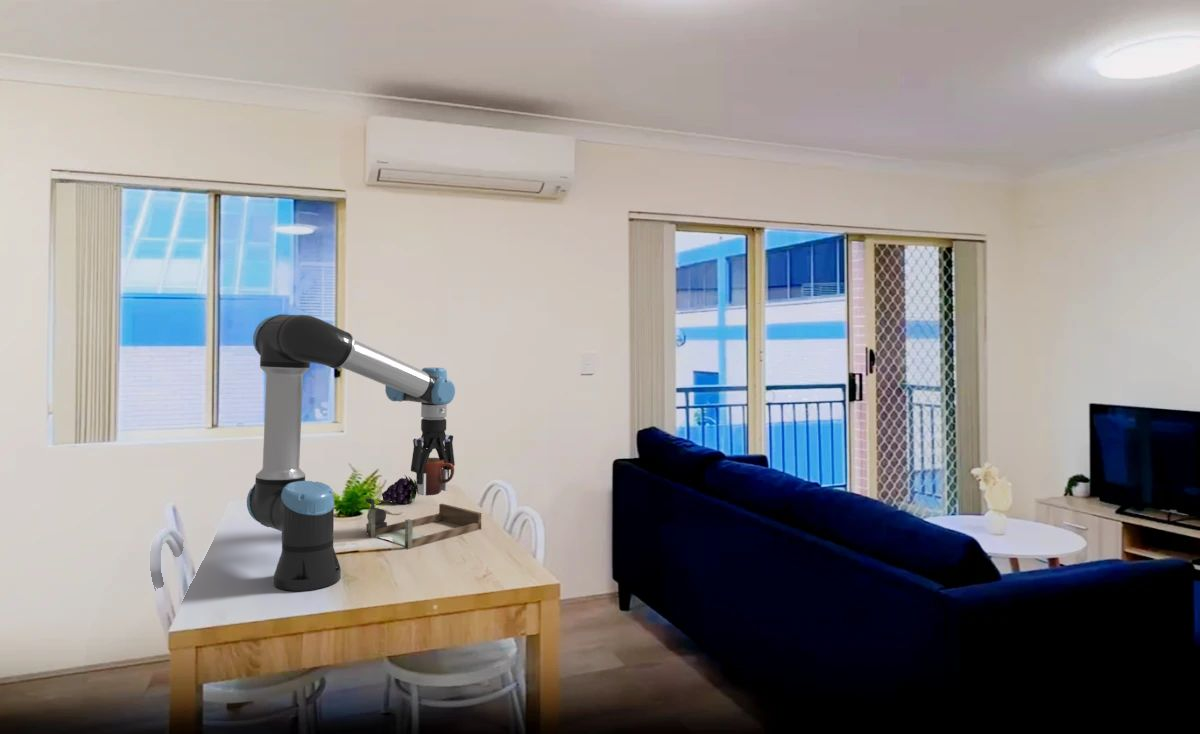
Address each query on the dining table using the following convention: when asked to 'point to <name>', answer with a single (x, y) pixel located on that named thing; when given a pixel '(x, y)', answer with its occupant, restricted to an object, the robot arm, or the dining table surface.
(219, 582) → the dining table surface
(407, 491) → the fruit
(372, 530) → the tray
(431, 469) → the mug
